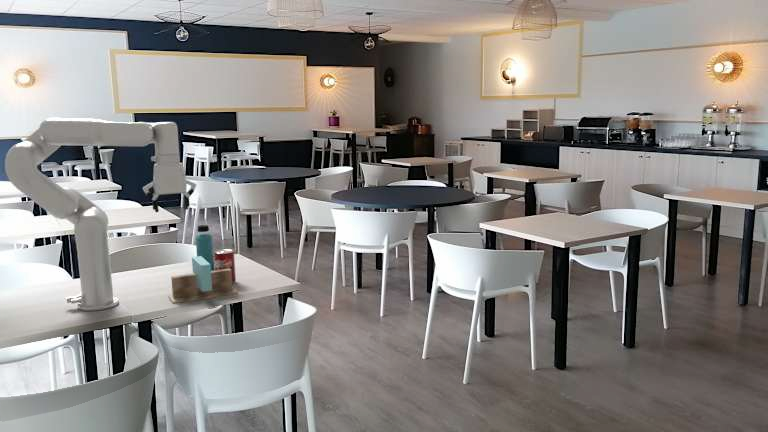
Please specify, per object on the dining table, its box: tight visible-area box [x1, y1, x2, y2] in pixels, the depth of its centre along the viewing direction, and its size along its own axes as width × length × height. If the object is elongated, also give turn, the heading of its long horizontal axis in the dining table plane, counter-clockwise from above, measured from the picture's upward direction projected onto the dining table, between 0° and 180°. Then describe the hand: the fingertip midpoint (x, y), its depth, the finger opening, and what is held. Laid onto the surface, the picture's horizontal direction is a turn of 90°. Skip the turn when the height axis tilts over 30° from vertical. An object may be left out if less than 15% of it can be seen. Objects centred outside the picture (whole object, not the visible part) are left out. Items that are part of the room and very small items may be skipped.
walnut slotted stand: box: [168, 269, 239, 304], centre depth 229 cm, size 22×8×8 cm, turn 118°
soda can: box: [213, 248, 237, 285], centre depth 244 cm, size 7×7×12 cm
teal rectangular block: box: [191, 255, 212, 292], centre depth 228 cm, size 3×14×9 cm, turn 28°
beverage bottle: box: [195, 224, 215, 271], centre depth 253 cm, size 6×7×20 cm
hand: (171, 210), depth 223 cm, fingers open, 9 cm apart
